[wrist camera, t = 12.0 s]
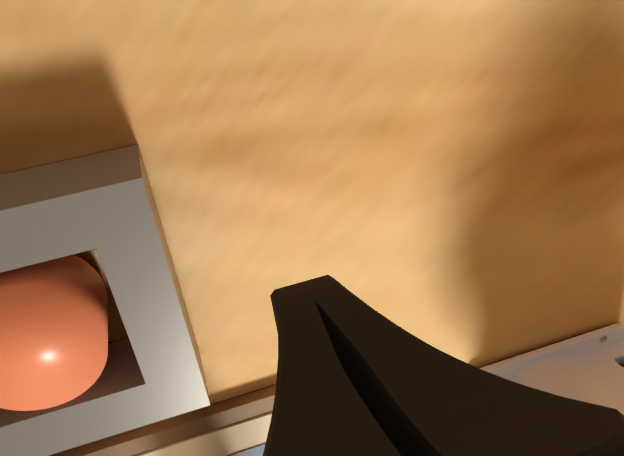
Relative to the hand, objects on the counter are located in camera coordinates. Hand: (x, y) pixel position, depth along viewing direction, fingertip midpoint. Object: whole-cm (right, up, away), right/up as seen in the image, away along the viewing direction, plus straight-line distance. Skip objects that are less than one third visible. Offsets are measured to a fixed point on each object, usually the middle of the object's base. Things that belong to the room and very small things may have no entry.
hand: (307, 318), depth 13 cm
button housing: (-10, -1, +9) cm, 14 cm away
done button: (-10, -1, +9) cm, 13 cm away
